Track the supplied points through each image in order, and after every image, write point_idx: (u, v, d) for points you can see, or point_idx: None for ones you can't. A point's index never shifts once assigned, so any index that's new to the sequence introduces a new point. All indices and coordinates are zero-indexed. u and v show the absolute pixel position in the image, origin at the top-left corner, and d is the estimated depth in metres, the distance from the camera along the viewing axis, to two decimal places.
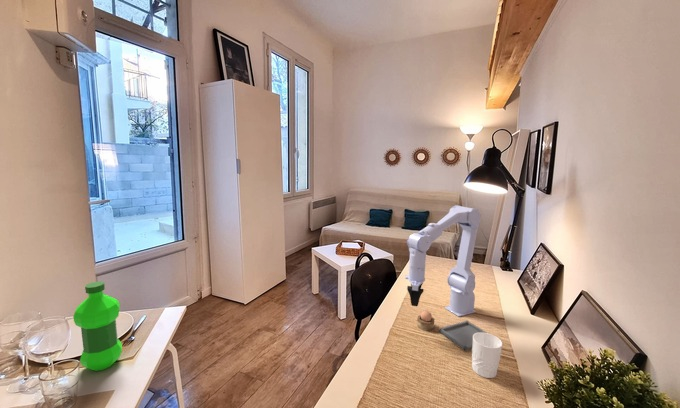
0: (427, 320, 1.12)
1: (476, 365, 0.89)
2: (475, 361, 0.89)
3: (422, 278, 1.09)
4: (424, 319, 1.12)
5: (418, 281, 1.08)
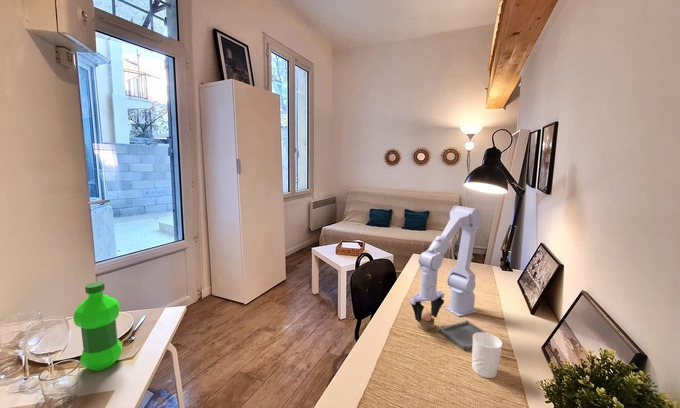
0: (427, 320, 1.12)
1: (476, 365, 0.89)
2: (475, 361, 0.89)
3: (428, 296, 1.09)
4: (424, 319, 1.12)
5: (422, 298, 1.10)
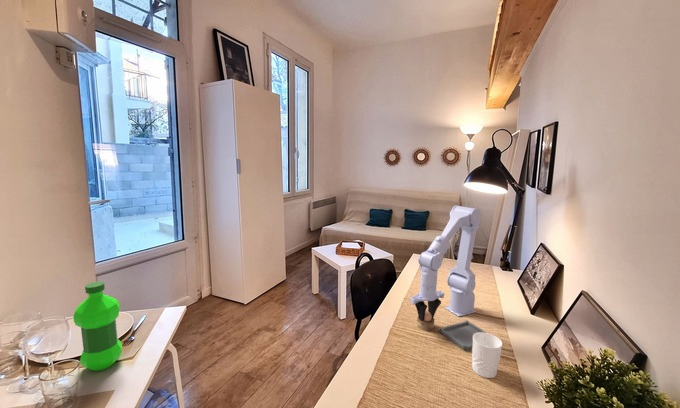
0: (427, 320, 1.12)
1: (476, 365, 0.89)
2: (475, 361, 0.89)
3: (428, 296, 1.09)
4: (424, 319, 1.12)
5: (422, 298, 1.10)
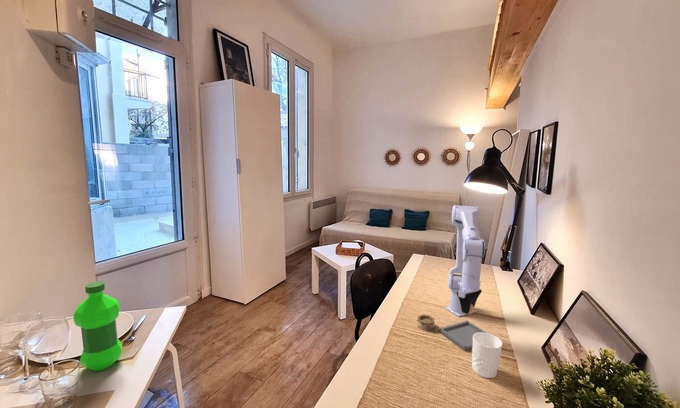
0: (471, 312, 1.05)
1: (476, 365, 0.89)
2: (475, 361, 0.89)
3: (474, 287, 1.02)
4: None
5: (469, 289, 1.02)
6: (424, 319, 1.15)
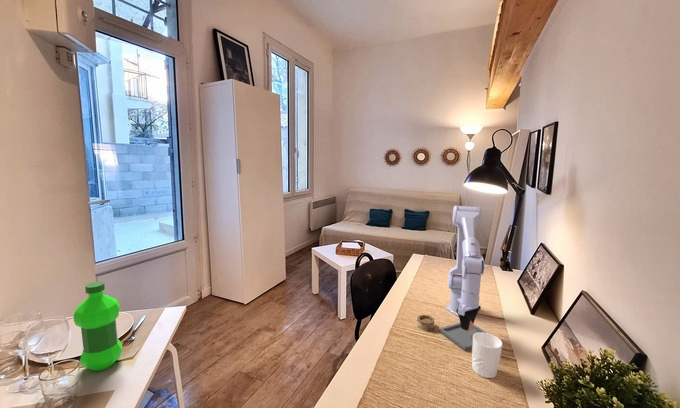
0: (471, 329, 1.06)
1: (476, 365, 0.89)
2: (475, 361, 0.89)
3: (473, 304, 1.03)
4: None
5: (468, 306, 1.03)
6: (424, 319, 1.15)
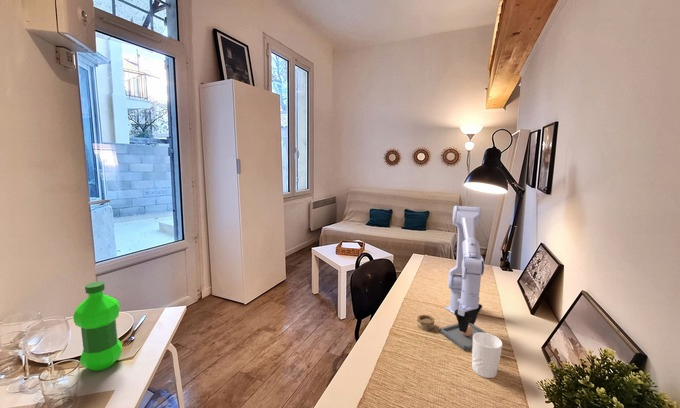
0: (470, 334, 1.06)
1: (476, 365, 0.89)
2: (475, 361, 0.89)
3: (473, 304, 1.03)
4: (467, 333, 1.06)
5: (468, 307, 1.03)
6: (424, 319, 1.15)
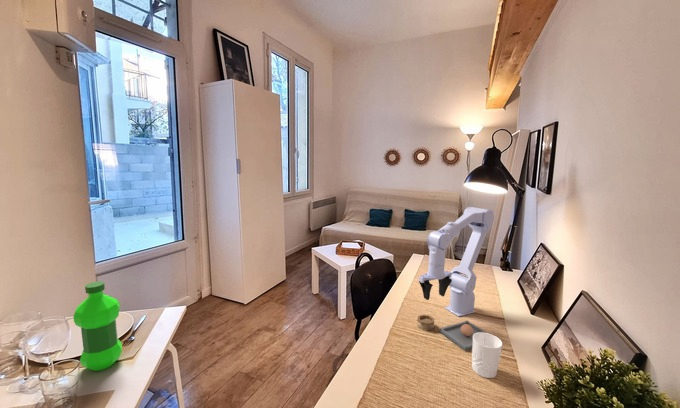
0: (470, 334, 1.06)
1: (476, 365, 0.89)
2: (475, 361, 0.89)
3: (436, 275, 1.12)
4: (467, 334, 1.06)
5: (431, 276, 1.13)
6: (424, 319, 1.15)
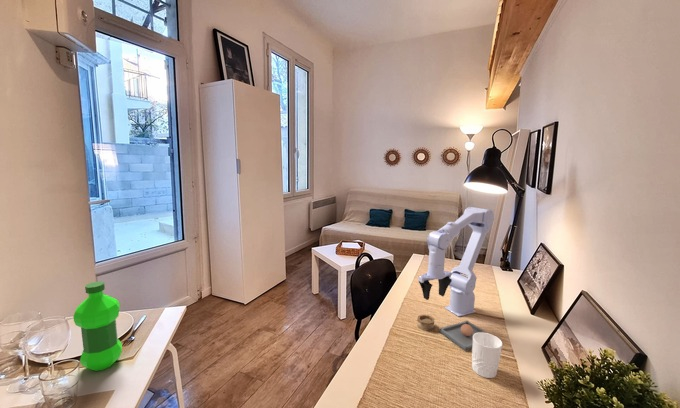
0: (470, 334, 1.06)
1: (476, 365, 0.89)
2: (475, 361, 0.89)
3: (436, 275, 1.12)
4: (467, 334, 1.06)
5: (431, 276, 1.13)
6: (424, 319, 1.15)
